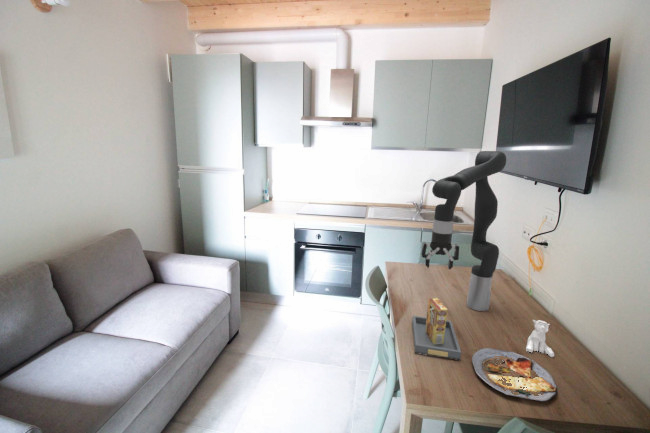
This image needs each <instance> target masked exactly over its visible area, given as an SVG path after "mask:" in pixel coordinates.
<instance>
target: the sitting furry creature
mask: <svg viewBox="0 0 650 433" xmlns="http://www.w3.org/2000/svg"><path fill="white" fill-rule="evenodd" d="M532 322H533V325H534V330H532V332H531V334H529V336H528V338H527V340H526V342H527V343H526V346H525V351H526V352H527V351H529V352H531V353H530V354H532V353H534V352H533V350H534V351H537V352H536V353H540V352H541V354H544V353H545V355H547V354H548V355H547V356H549V357H550V358H554V356H555V352H554V350H553V349H552V348H551V347H549V346H548V345H547V343H546V333H547V332H549V327H550V326H549V325H551V323H547V322H546V321H545V320H541V319H540V320H539V319H538V320H536V319H532ZM538 351H539V352H538ZM529 352H528V353H529Z"/></svg>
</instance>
